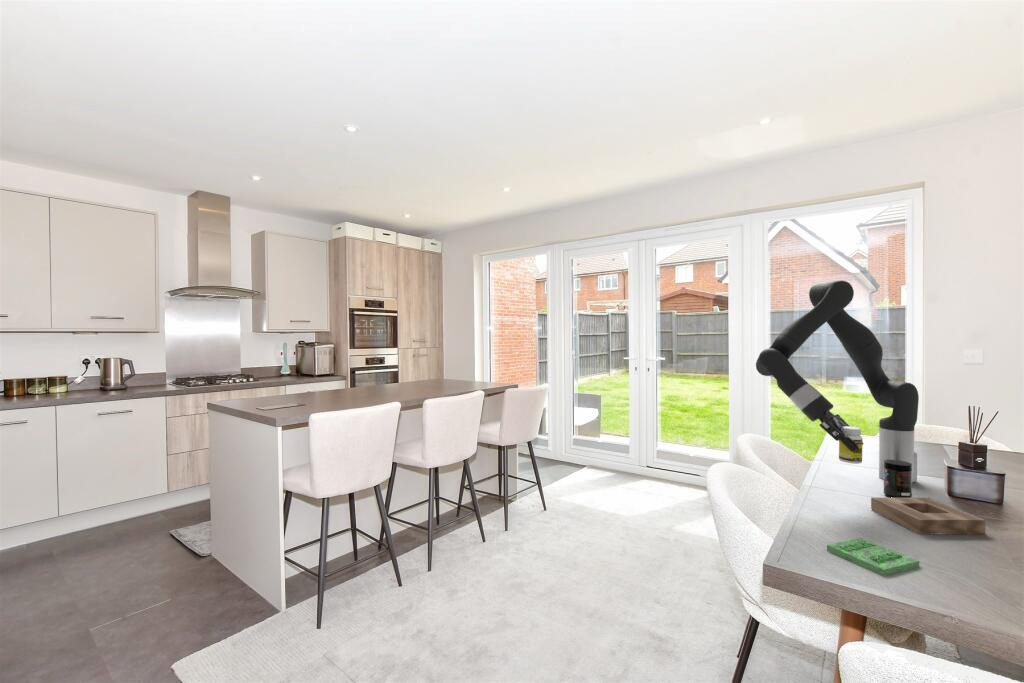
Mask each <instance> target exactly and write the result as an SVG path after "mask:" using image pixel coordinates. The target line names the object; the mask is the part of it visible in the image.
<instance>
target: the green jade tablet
mask: <svg viewBox="0 0 1024 683" xmlns="http://www.w3.org/2000/svg"><path fill="white" fill-rule="evenodd" d="M826 551H827V552H829V553H830V554H833V555H835V556H838V557H840V558H843V559H845V560H846V561H847V560H848V562H850V563H851V562H852V563H853V564H856V565H858V566H861V567H862V568H865V569H867V570H870V571H872V572H874V573H876V574H879V575H881V576H883V577H884V576H889V575H893V574H897V573H900V572H905V571H907V570H911V569H916V568H918V567H920V560H918V559H916V558H913V557H910V556H909V555H905V554H903V553H902V552H901V553H900V552H898V551H895V550H893V549H891V548H887V547H885V546H882V545H880V544H878V543H875V542H872V541H869V540H867V539H865V538H862V537H860V538H855V539H849V540H845V541H840V542H834V543H831V544H830V543H829V544H826Z"/></svg>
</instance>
